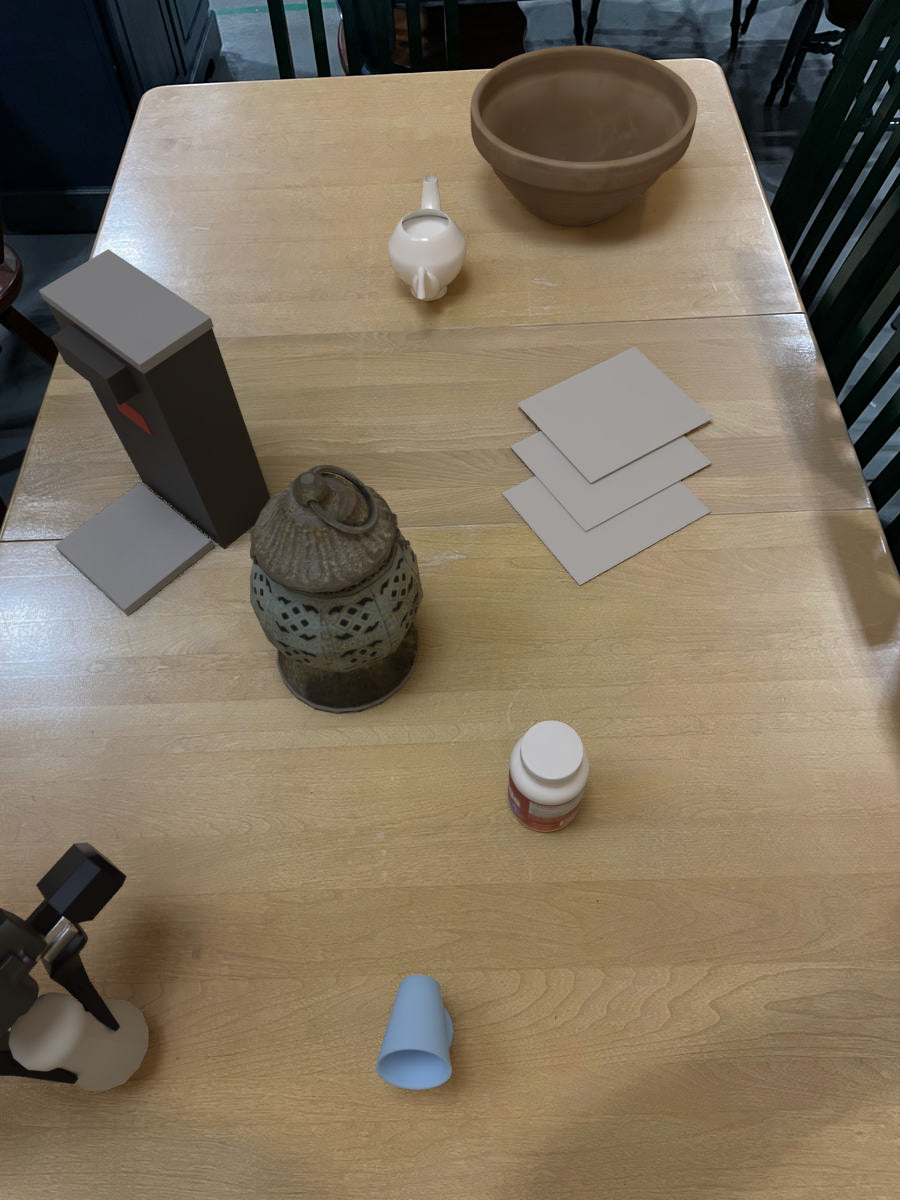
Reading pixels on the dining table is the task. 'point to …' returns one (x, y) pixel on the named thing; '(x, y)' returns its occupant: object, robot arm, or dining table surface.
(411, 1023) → the blue mug
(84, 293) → the coffee maker
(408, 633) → the lantern
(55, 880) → the robot arm
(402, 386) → the dining table surface
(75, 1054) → the salt shaker
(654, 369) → the paper stack
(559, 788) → the pill bottle
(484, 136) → the flower pot
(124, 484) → the dining table surface
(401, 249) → the teapot
